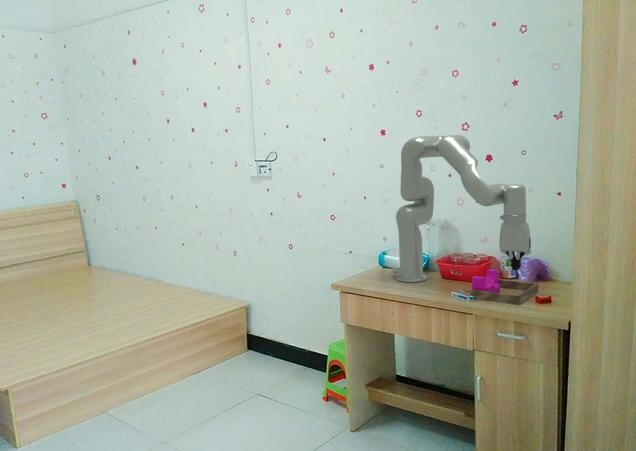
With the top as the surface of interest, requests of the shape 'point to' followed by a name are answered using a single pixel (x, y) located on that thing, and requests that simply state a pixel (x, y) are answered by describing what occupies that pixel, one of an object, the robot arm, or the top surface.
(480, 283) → the toy block
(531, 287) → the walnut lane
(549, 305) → the top surface
